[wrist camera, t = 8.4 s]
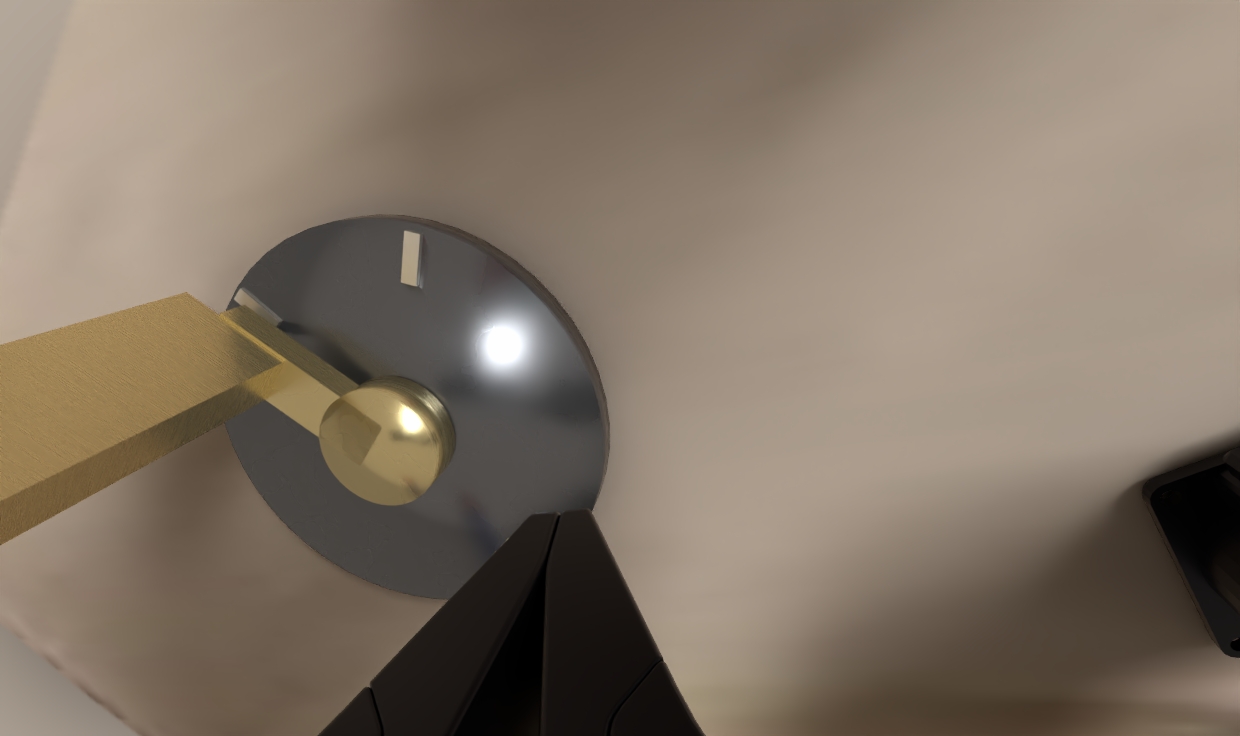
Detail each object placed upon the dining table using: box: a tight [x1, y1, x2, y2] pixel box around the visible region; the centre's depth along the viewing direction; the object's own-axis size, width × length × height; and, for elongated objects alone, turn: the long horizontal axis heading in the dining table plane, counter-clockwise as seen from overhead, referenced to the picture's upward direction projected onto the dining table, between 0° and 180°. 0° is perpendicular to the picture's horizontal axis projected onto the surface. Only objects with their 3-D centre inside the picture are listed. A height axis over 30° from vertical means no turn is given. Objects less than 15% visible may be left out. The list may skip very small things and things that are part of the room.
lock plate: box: [225, 215, 610, 599], centre depth 22 cm, size 14×14×1 cm
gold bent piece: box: [0, 292, 455, 545], centre depth 17 cm, size 9×4×9 cm, turn 55°
